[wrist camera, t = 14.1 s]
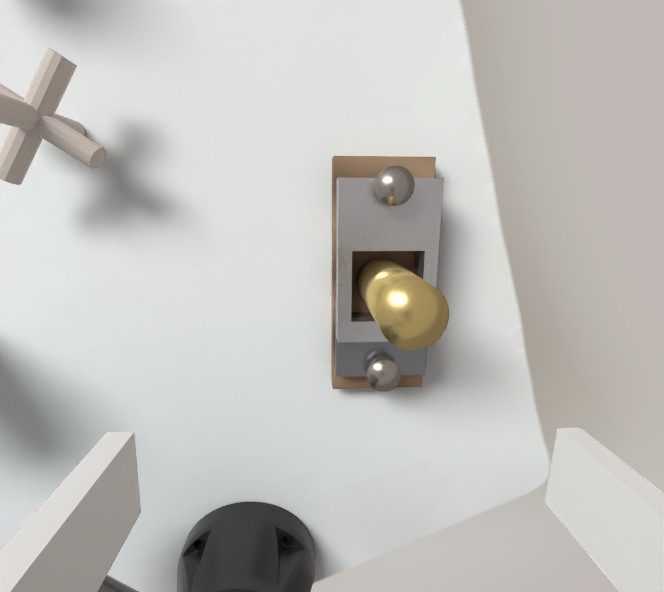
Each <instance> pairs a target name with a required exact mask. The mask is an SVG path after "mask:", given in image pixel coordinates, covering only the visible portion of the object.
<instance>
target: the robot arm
mask: <svg viewBox="0 0 664 592" xmlns="http://www.w3.org/2000/svg"><path fill="white" fill-rule="evenodd" d="M545 503H546V504H547V506H548V507H549V508H550V509H551V510H552V512H553V513H554V514H555V515H556V516H557V517H558V519H559V520H560V521H561V522H562V524H563V525H564V526H565V527H566V528H567V530H568V531H569V532H570V533H571V534H572V535H573V537H574V538H575V539H576V540H577V542H578V543H579V544H580V545H581V546H582V548H583V549H584V550H585V551H586V552H587V554H588V555H589V556H590V557H591V559H593V561H594V562H595V563H596V564H597V566H598V567H599V568H600V569H601V571H602V572H603V573H604V574H605V575H606V577H607V578H608V579H609V580H610V581H611V583H612V584H613V585H614V586H615V587H616V589H617V590H618V591H619V592H664V493H663V492H662V491H660V490H659V489H658V488H657V487H655V486H654V485H653V484H652V483H650V482H649V481H648V480H646V479H645V478H644V477H643V476H641V475H640V474H639V473H637V472H636V471H635V470H633V469H632V468H631V467H630V466H628V465H627V464H626V463H625V462H623V461H622V460H621V459H619V458H618V457H617V456H616V455H614V454H613V453H612V452H610V451H609V450H608V449H607V448H605V447H604V446H603V445H601V444H600V443H599V442H598V441H596V440H595V439H594V438H593V437H591V436H590V435H589V434H587V433H586V432H585V431H584V430H582V429H581V428H558V429H557V435H556V441H555V446H554V452H553V458H552V463H551V468H550V474H549V480H548V486H547V491H546V496H545ZM140 513H141V507H140V496H139V484H138V472H137V460H136V448H135V437H134V432H107V433H106V434H105V435H104V436H103V437H102V438H101V439H100V440H99V442H98V443H97V444H96V445H95V446H94V447H93V448H92V449H91V450H90V452H89V453H88V454H87V455H86V456H85V457H84V458H83V459H82V460H81V462H80V463H79V464H78V465H77V466H76V467H75V468H74V469H73V470H72V472H71V473H70V474H69V475H68V476H67V477H66V478H65V479H64V481H63V482H62V483H61V484H60V485H59V486H58V487H57V488H56V489H55V491H54V492H53V493H52V494H51V495H50V496H49V497H48V498H47V499H46V501H45V502H44V503H43V504H42V505H41V506H40V507H39V508H38V510H37V511H36V512H35V513H34V514H33V515H32V516H31V517H30V518H29V520H28V521H27V522H26V523H25V524H24V525H23V526H22V527H21V528H20V530H19V531H18V532H17V533H16V534H15V535H14V536H13V537H12V538H11V540H10V541H9V542H8V543H7V544H6V545H5V546H4V547H3V549H2V550H1V551H0V592H138V591H136V590H134V589H133V588H131V587H129V586H127V585H125V584H123V583H121V582H119V581H117V580H116V579H114V578H112V577H110V576H108V575H107V573H108V571H109V570H110V568H111V566H112V564H113V562H114V560H115V558H116V557H117V555H118V553H119V551H120V549H121V547H122V546H123V544H124V542H125V540H126V538H127V536H128V535H129V533H130V531H131V529H132V527H133V525H134V524H135V522H136V520H137V518H138V516H139V514H140ZM314 574H315V550H314V544H313V541H312V538H311V536H310V534H309V532H308V530H307V529H306V527H305V526H304V525H303V523H302V522H301V521H300V520H299V519H297V518H296V517H295V516H294V515H292V514H291V513H289V512H287V511H286V510H284V509H282V508H279V507H277V506H274V505H270V504H266V503H260V502H240V503H234V504H230V505H226V506H223V507H221V508H218V509H216V510H214V511H212V512H211V513H209V514H207V515H206V516H205V517H203V518H202V519H201V520H200V521H199V522H198V523H197V524H196V525H195V526H194V527H193V529H192V530H191V532H190V533H189V535H188V537H187V540H186V542H185V545H184V548H183V550H182V553H181V556H180V559H179V564H178V574H177V592H310V590H311V587H312V584H313V580H314Z"/></svg>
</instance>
